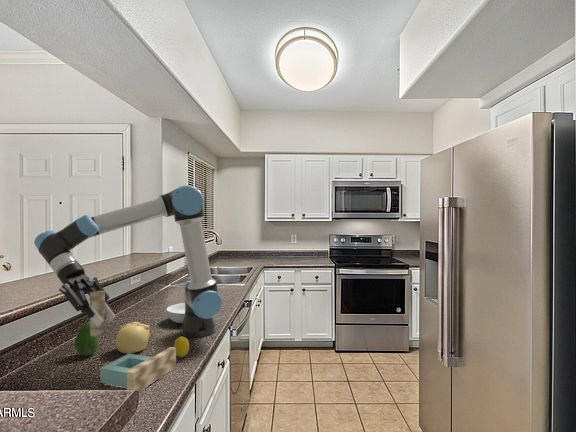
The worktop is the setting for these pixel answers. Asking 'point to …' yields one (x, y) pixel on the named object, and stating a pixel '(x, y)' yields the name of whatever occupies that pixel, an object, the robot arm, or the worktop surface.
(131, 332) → the sculpture
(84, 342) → the avocado
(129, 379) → the oak wall
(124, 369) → the socket block
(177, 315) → the serving bowl
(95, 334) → the dowel
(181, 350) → the lemon
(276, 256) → the worktop surface
